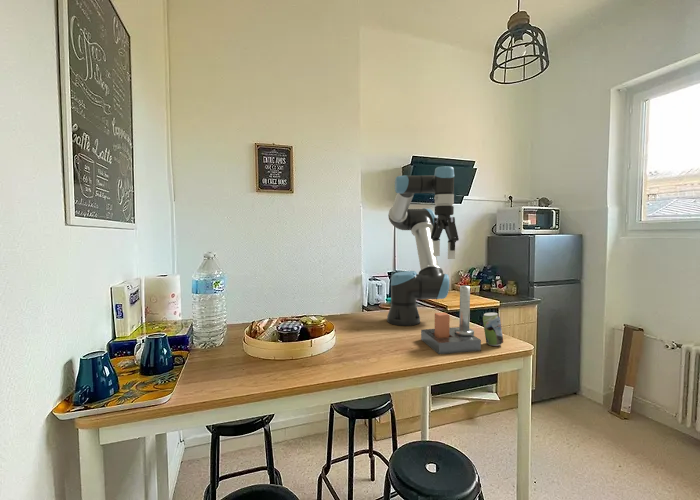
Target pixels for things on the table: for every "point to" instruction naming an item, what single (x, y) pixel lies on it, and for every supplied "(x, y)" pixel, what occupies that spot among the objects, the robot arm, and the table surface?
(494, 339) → the beverage can
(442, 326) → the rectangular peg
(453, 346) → the socket base with post
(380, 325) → the table surface
